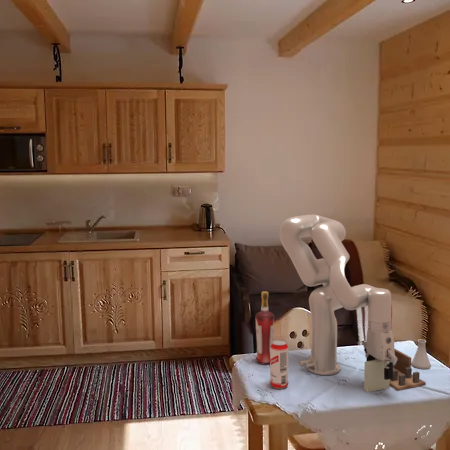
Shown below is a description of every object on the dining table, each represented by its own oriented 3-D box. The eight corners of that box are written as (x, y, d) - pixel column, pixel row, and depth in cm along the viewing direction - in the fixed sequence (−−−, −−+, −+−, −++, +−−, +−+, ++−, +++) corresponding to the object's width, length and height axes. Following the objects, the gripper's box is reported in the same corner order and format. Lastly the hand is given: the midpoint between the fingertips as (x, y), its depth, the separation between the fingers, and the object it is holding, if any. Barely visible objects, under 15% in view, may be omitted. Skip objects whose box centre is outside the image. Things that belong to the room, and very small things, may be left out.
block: (368, 393, 173) (369, 365, 171) (363, 389, 175) (364, 361, 174) (390, 388, 176) (391, 361, 174) (385, 385, 178) (386, 358, 177)
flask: (432, 370, 190) (433, 344, 189) (412, 369, 192) (413, 343, 190) (429, 362, 197) (430, 337, 196) (409, 361, 199) (410, 336, 197)
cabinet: (397, 390, 174) (398, 368, 173) (365, 370, 191) (366, 349, 190) (425, 385, 178) (426, 363, 177) (392, 365, 195) (393, 345, 194)
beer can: (276, 391, 175) (276, 346, 172) (266, 384, 180) (266, 340, 178) (291, 387, 177) (292, 343, 175) (281, 380, 183) (281, 337, 181)
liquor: (254, 358, 203) (254, 290, 199) (272, 357, 203) (272, 289, 200) (256, 365, 196) (256, 295, 192) (275, 365, 196) (275, 294, 192)
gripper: (405, 330, 166) (405, 381, 168) (373, 317, 182) (373, 363, 184) (386, 334, 163) (386, 385, 165) (355, 319, 179) (355, 366, 181)
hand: (379, 373), depth 175 cm, fingers open, 9 cm apart
